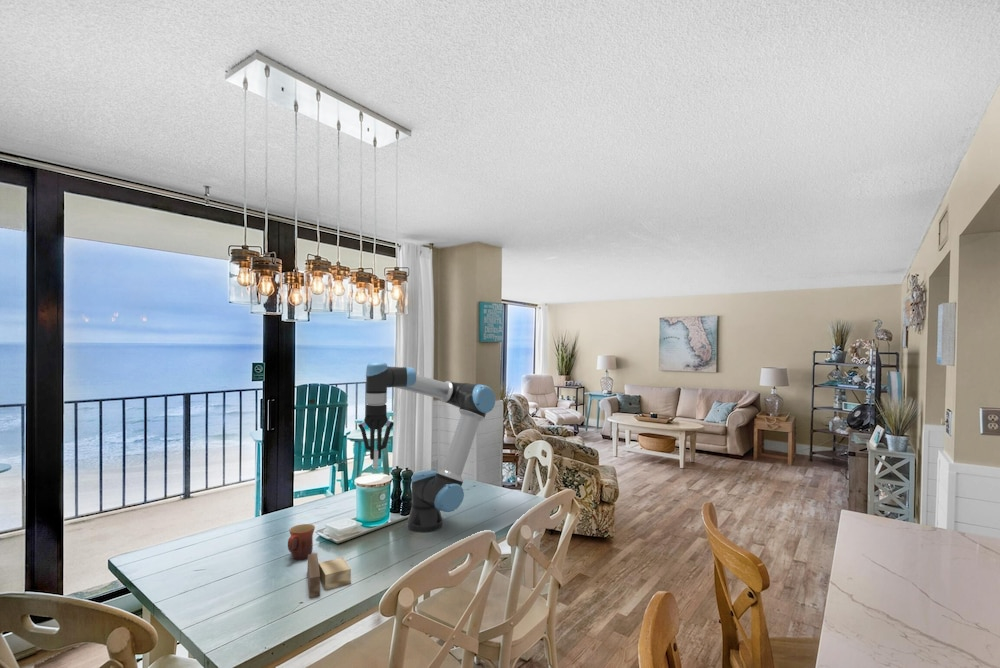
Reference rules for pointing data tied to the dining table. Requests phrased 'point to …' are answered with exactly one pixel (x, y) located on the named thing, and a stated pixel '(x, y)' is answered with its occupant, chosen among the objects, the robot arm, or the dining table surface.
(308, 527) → the mug
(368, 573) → the dining table surface
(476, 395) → the robot arm
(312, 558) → the wooden block
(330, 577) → the oak block
